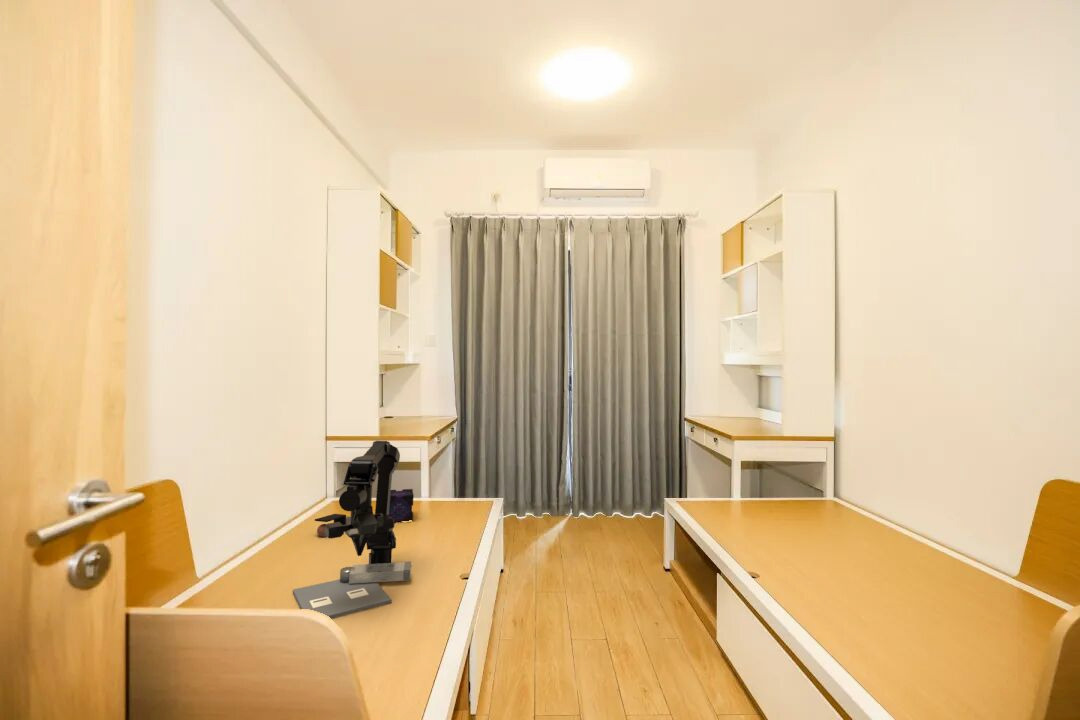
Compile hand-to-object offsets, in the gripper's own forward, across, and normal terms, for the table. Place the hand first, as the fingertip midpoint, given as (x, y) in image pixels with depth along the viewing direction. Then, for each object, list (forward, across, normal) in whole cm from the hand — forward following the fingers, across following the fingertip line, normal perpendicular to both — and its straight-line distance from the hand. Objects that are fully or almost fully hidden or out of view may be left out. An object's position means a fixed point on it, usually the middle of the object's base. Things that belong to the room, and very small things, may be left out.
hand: (359, 555), depth 141 cm
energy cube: (+12, +37, +68) cm, 78 cm away
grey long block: (+11, +8, +8) cm, 15 cm away
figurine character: (+12, +8, +64) cm, 66 cm away
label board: (+12, -4, +2) cm, 13 cm away
